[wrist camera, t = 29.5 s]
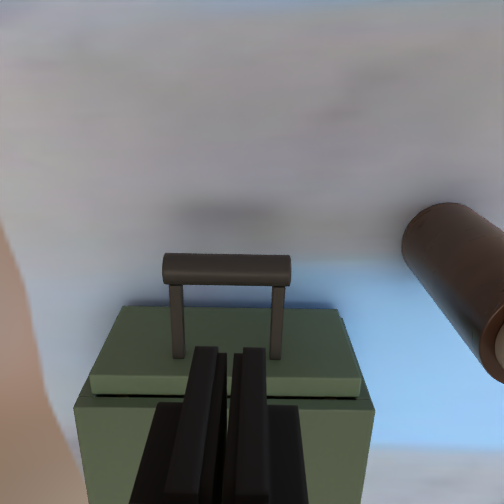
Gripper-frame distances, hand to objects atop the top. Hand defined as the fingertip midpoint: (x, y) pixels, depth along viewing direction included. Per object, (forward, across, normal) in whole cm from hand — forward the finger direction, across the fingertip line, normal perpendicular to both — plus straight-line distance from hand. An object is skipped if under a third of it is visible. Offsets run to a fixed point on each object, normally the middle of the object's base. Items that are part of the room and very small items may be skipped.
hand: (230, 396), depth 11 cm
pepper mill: (+18, -12, +3) cm, 22 cm away
